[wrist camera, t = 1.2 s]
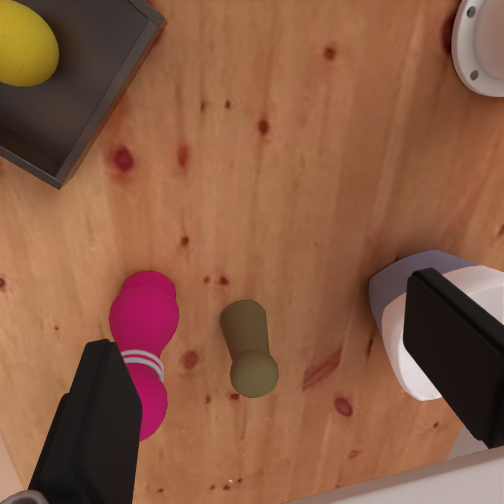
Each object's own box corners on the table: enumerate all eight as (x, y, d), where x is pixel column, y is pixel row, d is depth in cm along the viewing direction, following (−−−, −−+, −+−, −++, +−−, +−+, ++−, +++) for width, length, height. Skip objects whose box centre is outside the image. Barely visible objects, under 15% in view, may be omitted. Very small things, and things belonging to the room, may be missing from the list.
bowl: (368, 349, 53) (409, 415, 43) (340, 269, 45) (381, 326, 35) (468, 307, 52) (533, 364, 42) (456, 218, 44) (531, 263, 34)
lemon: (48, 98, 32) (7, 108, 25) (-16, 46, 29) (-81, 42, 22) (84, 46, 30) (53, 42, 23) (20, -12, 28) (-37, -36, 21)
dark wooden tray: (-16, -138, 25) (-52, -174, 21) (167, 22, 31) (164, 17, 27) (-100, 71, 29) (-142, 73, 26) (72, 176, 35) (58, 190, 31)
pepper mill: (110, 270, 40) (50, 429, 23) (175, 263, 41) (165, 411, 24) (123, 321, 44) (80, 492, 26) (183, 313, 45) (179, 475, 27)
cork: (210, 326, 46) (216, 395, 37) (238, 292, 44) (251, 356, 35) (248, 343, 49) (262, 413, 39) (275, 312, 47) (297, 377, 37)
